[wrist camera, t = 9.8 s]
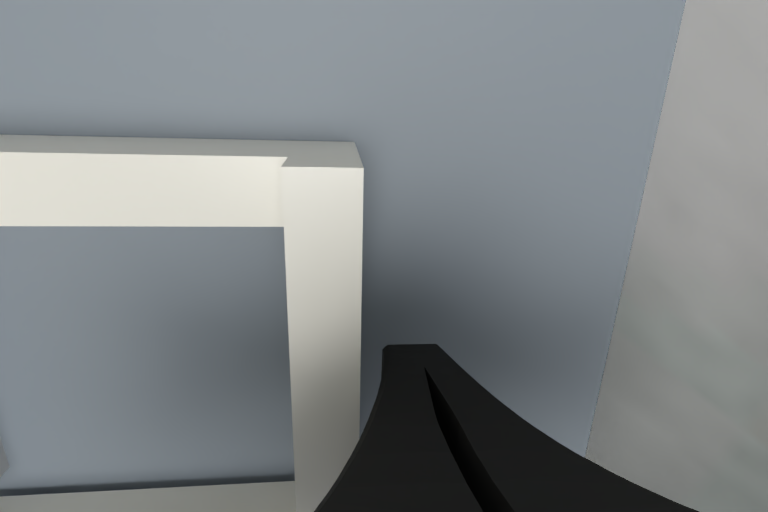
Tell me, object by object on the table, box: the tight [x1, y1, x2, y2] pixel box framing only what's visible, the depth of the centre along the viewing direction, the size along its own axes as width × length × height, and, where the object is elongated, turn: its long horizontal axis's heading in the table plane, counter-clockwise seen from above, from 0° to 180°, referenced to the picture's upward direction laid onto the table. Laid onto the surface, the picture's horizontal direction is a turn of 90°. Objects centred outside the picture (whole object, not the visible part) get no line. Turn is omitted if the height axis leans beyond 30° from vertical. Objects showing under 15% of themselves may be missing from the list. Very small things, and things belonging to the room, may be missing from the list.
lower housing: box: [0, 135, 364, 512], centre depth 10 cm, size 11×10×4 cm
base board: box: [0, 0, 686, 497], centre depth 11 cm, size 16×24×4 cm, turn 88°
